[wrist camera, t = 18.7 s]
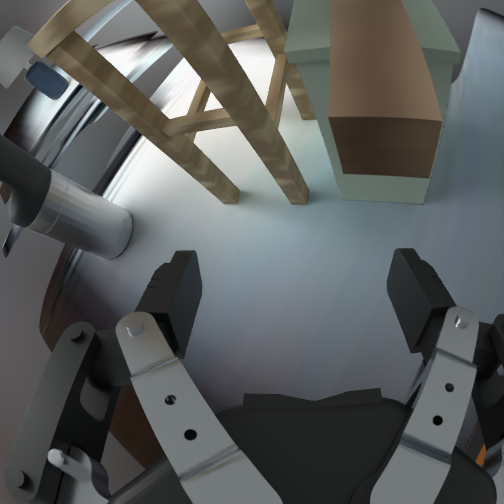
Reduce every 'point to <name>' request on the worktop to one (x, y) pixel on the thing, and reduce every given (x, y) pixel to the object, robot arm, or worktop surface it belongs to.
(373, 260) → the worktop surface
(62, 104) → the worktop surface
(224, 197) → the stool
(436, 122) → the tan cardboard block
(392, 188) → the pale green block
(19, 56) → the lamp
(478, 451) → the power drill
